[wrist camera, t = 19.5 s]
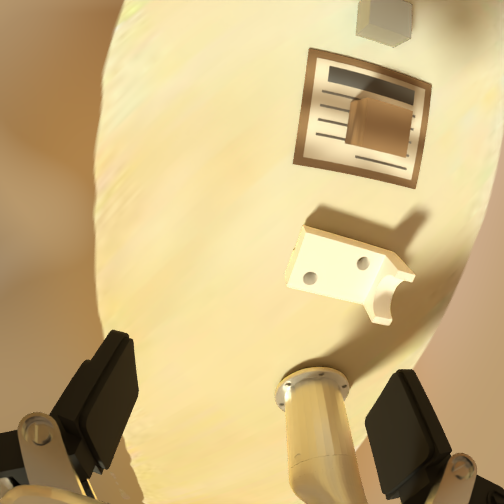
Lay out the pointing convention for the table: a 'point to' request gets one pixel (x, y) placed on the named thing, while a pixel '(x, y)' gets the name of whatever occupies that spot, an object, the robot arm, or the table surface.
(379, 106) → the walnut block
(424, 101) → the brown white flat panel
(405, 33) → the block
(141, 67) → the table surface
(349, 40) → the table surface
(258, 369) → the table surface
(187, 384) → the table surface
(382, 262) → the bracket
